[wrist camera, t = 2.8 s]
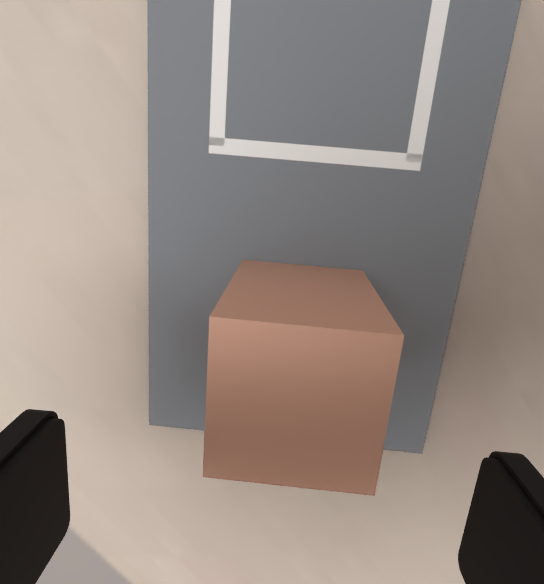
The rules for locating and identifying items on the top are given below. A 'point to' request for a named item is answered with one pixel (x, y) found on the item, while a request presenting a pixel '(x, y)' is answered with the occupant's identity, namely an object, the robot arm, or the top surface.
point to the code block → (299, 378)
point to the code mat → (316, 167)
